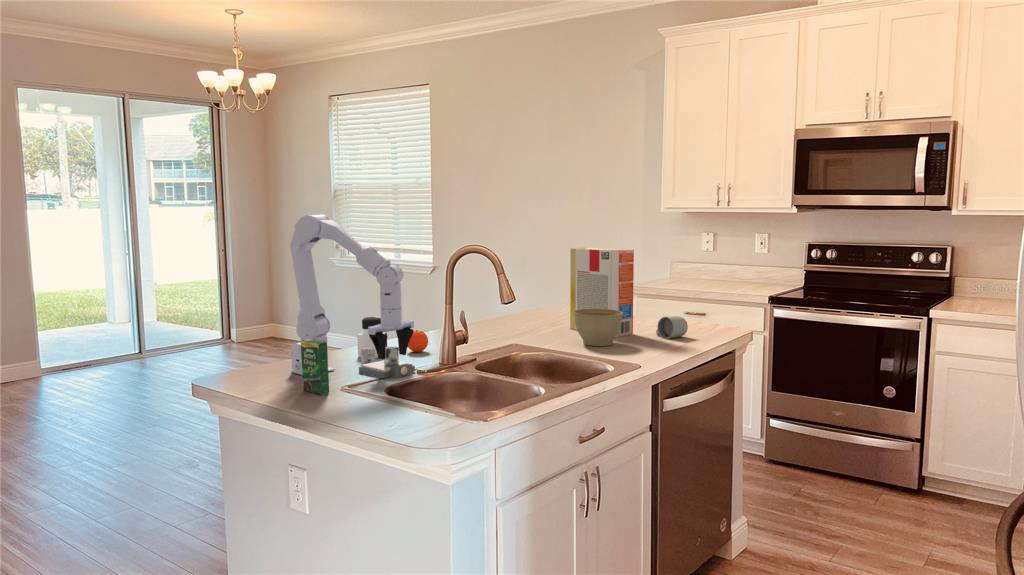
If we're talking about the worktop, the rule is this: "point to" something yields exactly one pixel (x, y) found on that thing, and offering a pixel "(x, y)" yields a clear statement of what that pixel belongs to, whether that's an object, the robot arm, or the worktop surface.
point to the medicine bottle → (364, 338)
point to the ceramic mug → (671, 327)
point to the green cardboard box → (315, 366)
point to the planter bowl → (598, 325)
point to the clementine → (418, 341)
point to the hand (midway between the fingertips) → (392, 356)
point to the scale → (387, 369)
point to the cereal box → (602, 283)
